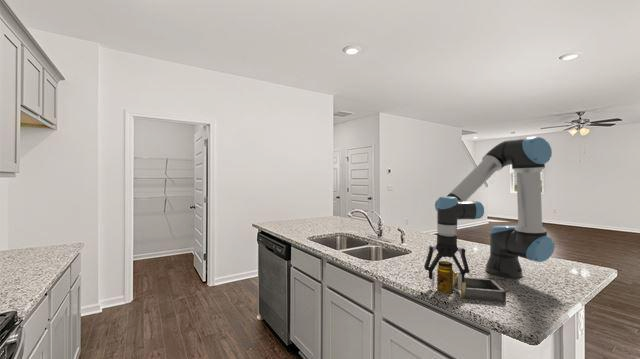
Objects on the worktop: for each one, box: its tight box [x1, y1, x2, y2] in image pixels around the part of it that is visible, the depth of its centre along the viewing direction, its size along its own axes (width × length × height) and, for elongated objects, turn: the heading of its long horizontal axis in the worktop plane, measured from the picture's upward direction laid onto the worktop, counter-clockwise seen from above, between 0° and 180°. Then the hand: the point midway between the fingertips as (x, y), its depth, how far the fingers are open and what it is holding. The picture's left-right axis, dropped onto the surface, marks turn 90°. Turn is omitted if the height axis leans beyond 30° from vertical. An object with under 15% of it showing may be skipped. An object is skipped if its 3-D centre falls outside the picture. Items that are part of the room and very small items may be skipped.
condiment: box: [433, 260, 459, 297], centre depth 118 cm, size 7×8×12 cm
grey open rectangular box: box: [453, 271, 507, 303], centre depth 116 cm, size 16×14×6 cm
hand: (445, 287), depth 118 cm, fingers open, 10 cm apart
